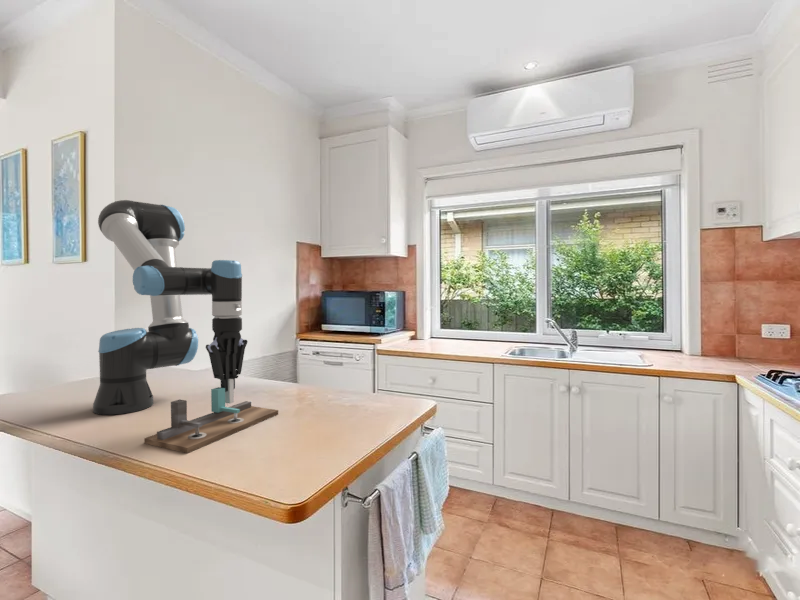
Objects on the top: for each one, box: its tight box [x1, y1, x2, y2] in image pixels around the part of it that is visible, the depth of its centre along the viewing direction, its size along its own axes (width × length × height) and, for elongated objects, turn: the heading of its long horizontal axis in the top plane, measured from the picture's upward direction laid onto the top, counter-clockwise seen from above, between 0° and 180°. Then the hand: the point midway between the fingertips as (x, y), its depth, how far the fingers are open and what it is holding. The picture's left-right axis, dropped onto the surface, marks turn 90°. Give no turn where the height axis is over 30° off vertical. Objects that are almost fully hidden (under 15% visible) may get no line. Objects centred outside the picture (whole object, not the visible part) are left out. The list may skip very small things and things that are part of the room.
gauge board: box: [143, 399, 279, 454], centre depth 107 cm, size 14×30×9 cm, turn 157°
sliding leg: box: [210, 386, 240, 420], centre depth 110 cm, size 8×2×7 cm, turn 67°
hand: (228, 402), depth 115 cm, fingers closed
